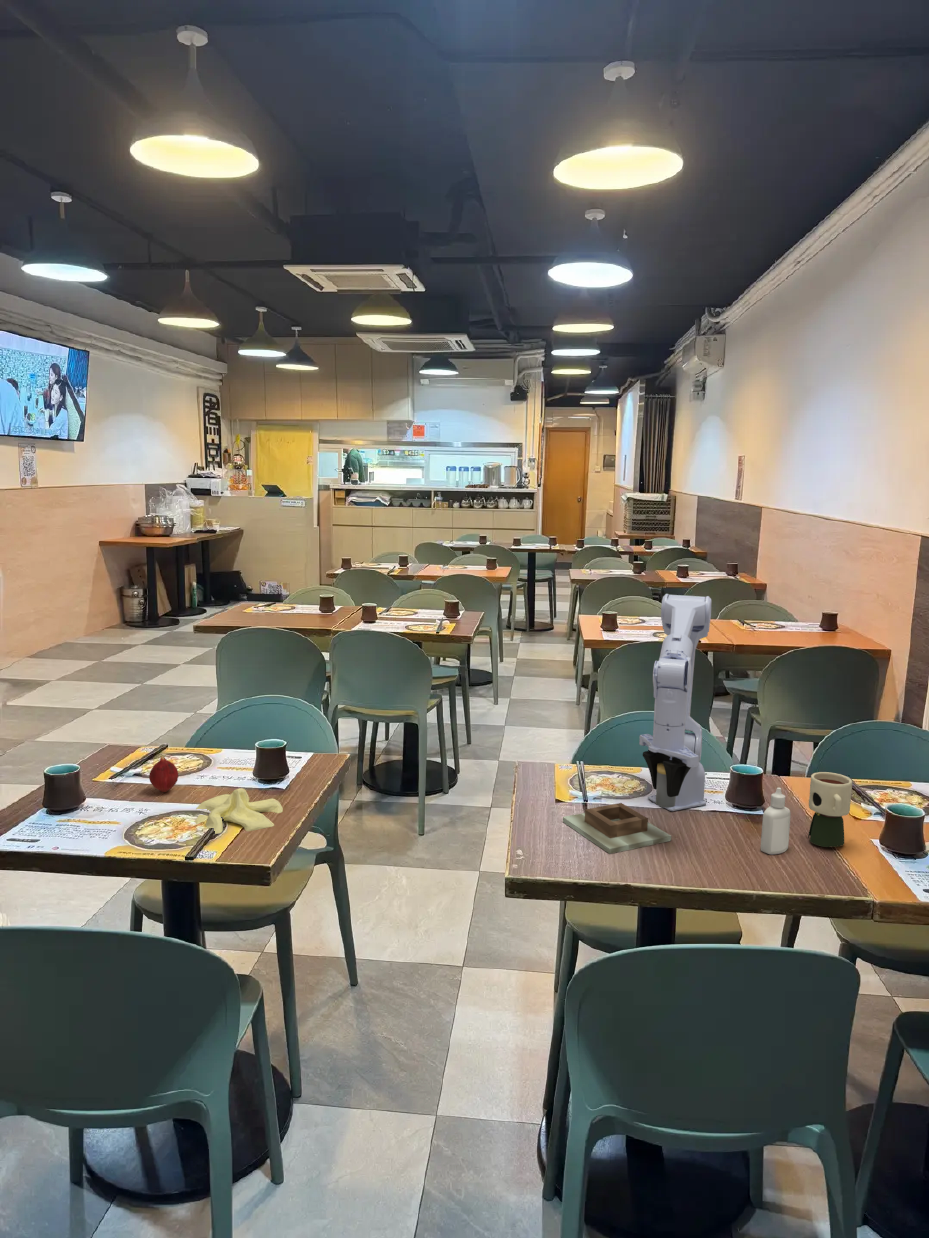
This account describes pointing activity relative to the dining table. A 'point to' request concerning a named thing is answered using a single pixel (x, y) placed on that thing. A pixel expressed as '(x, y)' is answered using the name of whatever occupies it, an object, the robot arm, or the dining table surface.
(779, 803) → the eye dropper bottle
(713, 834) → the dining table surface
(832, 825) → the character mug
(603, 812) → the holder
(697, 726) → the robot arm
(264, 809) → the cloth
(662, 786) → the yellow capped shaker
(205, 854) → the dining table surface
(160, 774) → the onion
